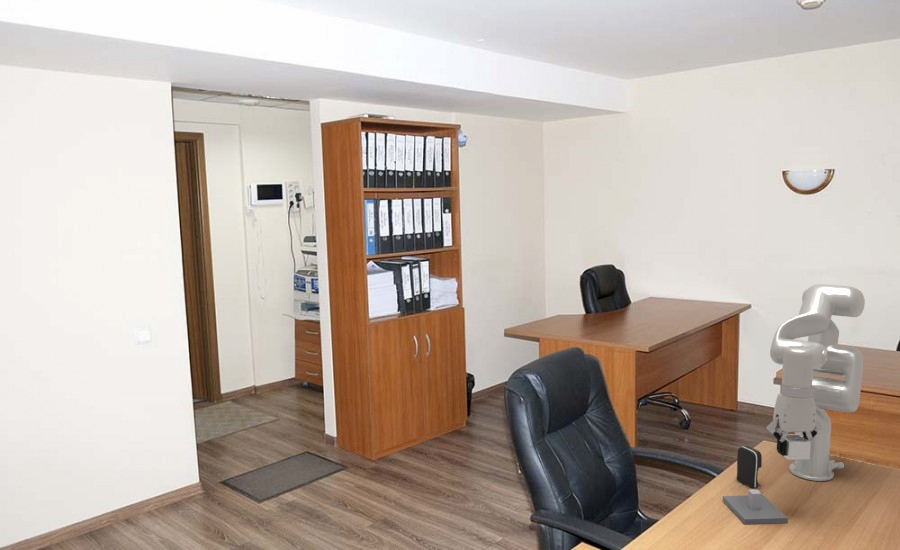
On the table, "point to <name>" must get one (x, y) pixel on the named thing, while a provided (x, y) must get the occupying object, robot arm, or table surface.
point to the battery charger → (748, 465)
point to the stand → (754, 509)
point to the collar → (797, 447)
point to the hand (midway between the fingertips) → (793, 453)
